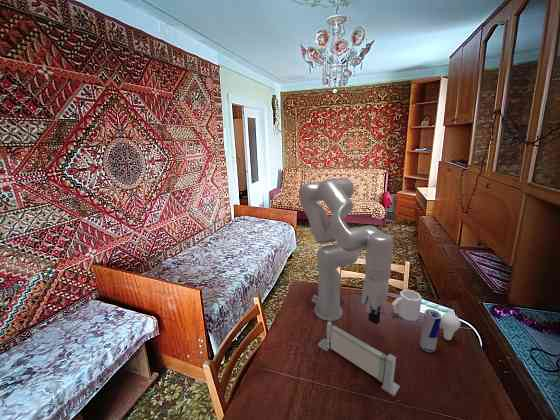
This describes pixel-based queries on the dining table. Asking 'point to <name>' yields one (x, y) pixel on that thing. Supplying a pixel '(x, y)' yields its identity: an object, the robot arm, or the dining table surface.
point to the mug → (408, 305)
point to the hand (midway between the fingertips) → (373, 321)
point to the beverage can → (430, 330)
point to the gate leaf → (358, 353)
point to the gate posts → (389, 367)
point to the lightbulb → (450, 325)
